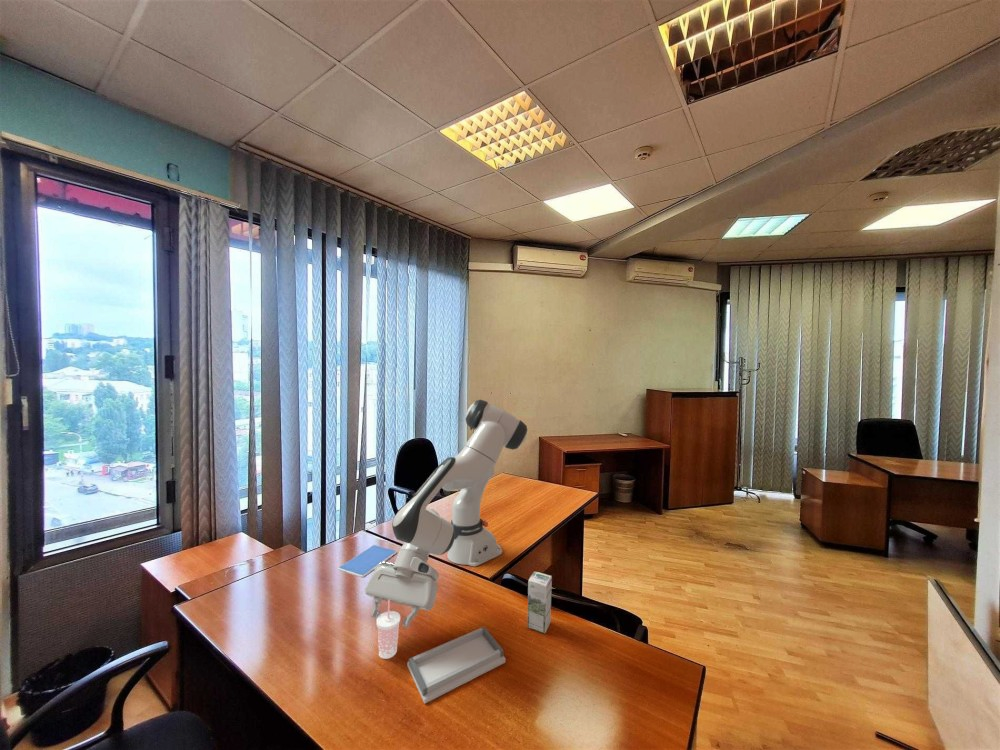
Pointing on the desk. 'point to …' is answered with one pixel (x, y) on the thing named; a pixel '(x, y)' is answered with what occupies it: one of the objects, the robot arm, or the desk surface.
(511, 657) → the desk surface
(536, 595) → the syrup box
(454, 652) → the rectangular tray
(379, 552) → the tablet computer
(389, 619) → the beverage cup
